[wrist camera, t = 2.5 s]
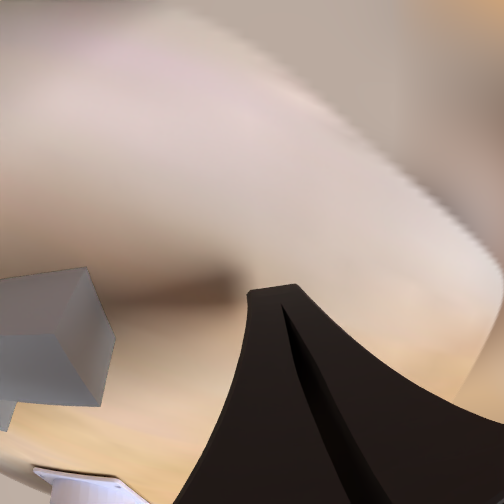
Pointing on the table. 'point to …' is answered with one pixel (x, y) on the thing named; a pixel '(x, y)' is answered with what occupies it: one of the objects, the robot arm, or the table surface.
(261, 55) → the table surface
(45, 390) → the t block
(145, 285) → the table surface
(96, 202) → the table surface
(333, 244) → the table surface
